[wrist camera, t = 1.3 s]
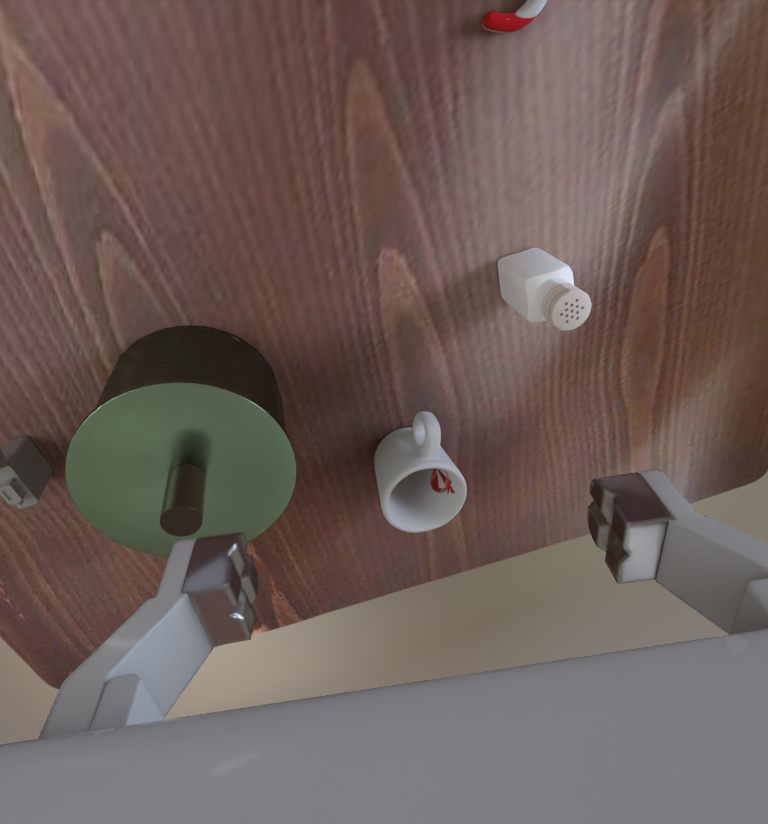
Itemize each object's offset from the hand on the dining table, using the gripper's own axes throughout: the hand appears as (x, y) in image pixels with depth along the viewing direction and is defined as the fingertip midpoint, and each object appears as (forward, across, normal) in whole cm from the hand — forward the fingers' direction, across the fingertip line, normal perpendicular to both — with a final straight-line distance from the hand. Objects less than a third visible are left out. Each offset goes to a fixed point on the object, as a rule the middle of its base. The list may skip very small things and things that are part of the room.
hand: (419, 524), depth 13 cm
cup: (+36, -2, +23) cm, 43 cm away
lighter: (+31, +31, +14) cm, 46 cm away
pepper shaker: (+37, -13, +8) cm, 40 cm away
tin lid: (+23, +15, +14) cm, 31 cm away
